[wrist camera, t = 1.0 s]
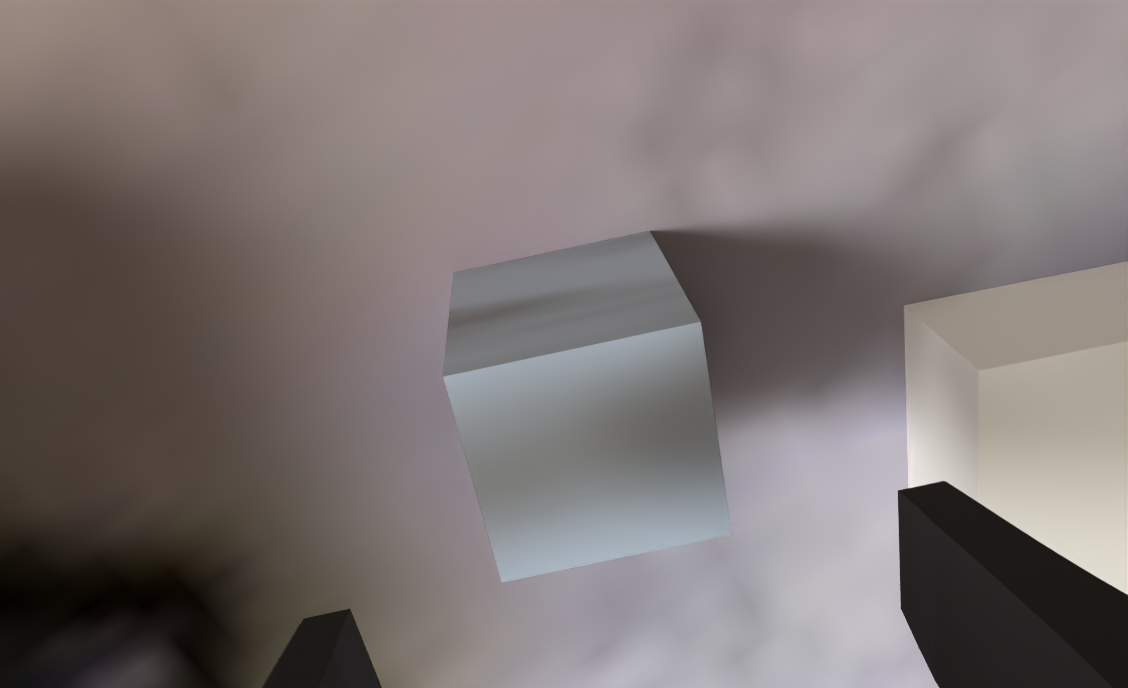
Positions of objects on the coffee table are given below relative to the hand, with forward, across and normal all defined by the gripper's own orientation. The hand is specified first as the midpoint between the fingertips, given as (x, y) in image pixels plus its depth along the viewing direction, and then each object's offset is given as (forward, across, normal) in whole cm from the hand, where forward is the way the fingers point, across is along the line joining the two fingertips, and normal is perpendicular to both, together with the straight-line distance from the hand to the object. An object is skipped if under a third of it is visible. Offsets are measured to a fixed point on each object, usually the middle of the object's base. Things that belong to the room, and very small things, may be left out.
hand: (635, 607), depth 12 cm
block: (+10, 0, +1) cm, 11 cm away
